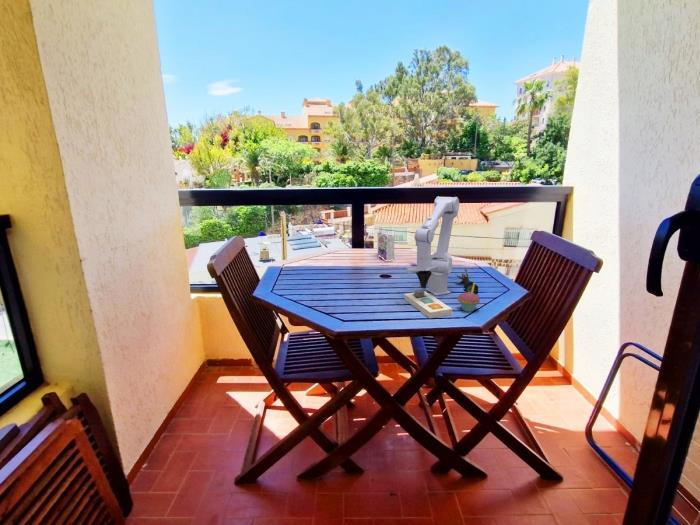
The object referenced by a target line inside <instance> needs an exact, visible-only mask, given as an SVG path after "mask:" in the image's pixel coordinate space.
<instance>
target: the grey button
mask: <svg viewBox="0 0 700 525" xmlns="http://www.w3.org/2000/svg"><path fill="white" fill-rule="evenodd" d="M424 291H425V290H420V289H418V290H417V289H416V290H414V292H413V293H414V297H416V298H422V297H424Z"/></svg>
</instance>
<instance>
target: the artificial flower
mask: <svg viewBox="0 0 700 525" xmlns="http://www.w3.org/2000/svg"><path fill="white" fill-rule="evenodd" d="M454 275H455V276H456V277H457V279H460V281H458V282H457V284H460V283H461V282H464V283H465V284H464V285H463V289H462V290H463V292H464V293H466V292H470V293H471V292H472V287H473V283H474V282H470V277H472V276H473V274H471V275H469V273H468V269H466V268H465V269H464V273H463V272H461V276H460V275H459V274H457V273H455V274H454ZM473 293H474V294H476V295H477V296H478V294H479V286H478V285H477V284H476V283H475V286H474V290H473Z"/></svg>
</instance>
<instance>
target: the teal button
mask: <svg viewBox="0 0 700 525" xmlns="http://www.w3.org/2000/svg"><path fill="white" fill-rule="evenodd" d="M422 302H423V303H424V304H427V303H432V299H430V298H423V299H422Z"/></svg>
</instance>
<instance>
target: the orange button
mask: <svg viewBox="0 0 700 525" xmlns="http://www.w3.org/2000/svg"><path fill="white" fill-rule="evenodd" d="M430 308H431V309H433V310H435V309H441V305H440V304H431V305H430Z"/></svg>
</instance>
